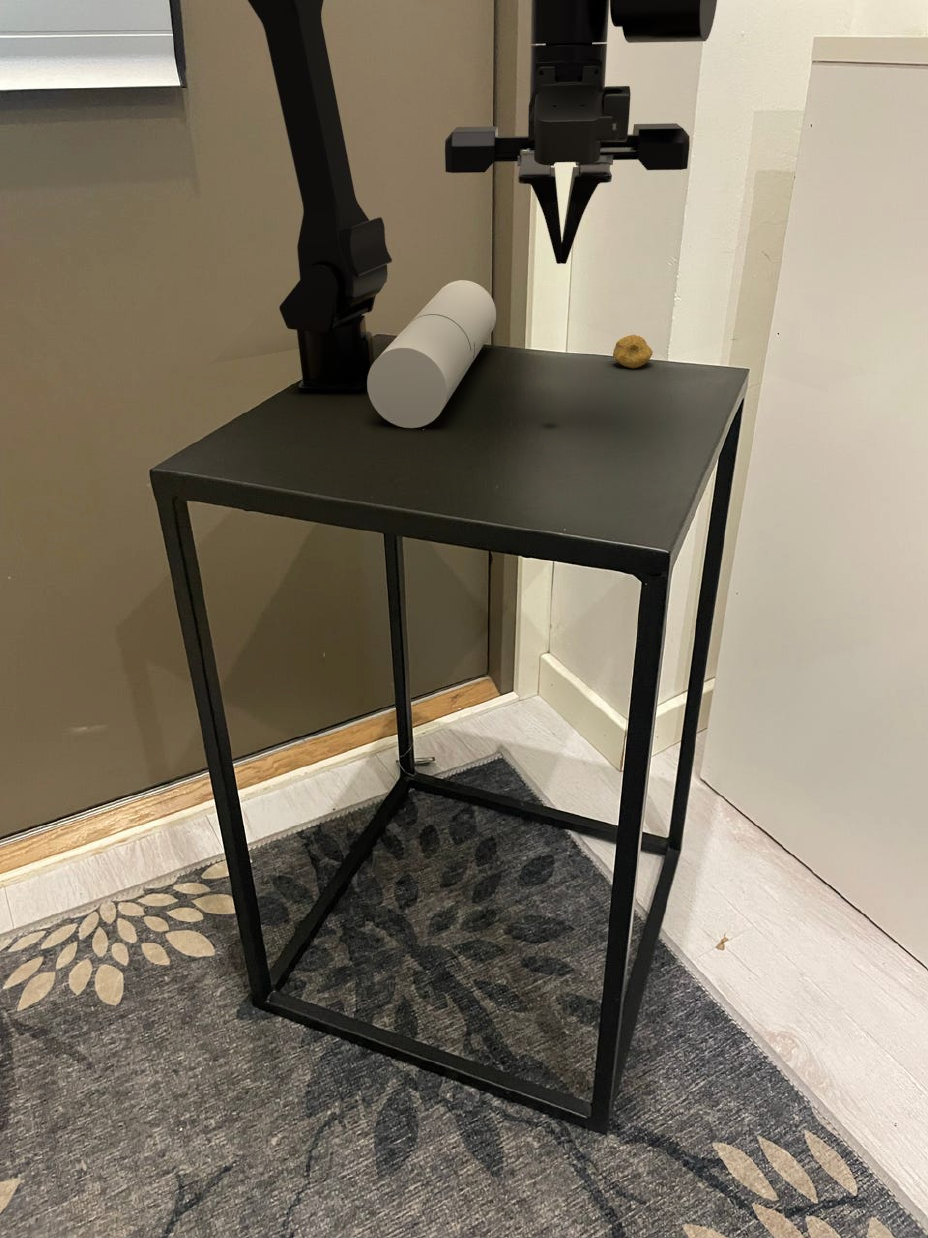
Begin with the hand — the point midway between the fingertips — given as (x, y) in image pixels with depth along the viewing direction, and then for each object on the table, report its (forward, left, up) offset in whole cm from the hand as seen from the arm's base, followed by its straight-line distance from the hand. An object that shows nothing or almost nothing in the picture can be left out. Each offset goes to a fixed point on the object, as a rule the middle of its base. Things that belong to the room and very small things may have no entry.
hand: (561, 262), depth 77 cm
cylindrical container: (-13, -4, -9) cm, 17 cm away
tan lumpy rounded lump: (+8, +14, -13) cm, 21 cm away
